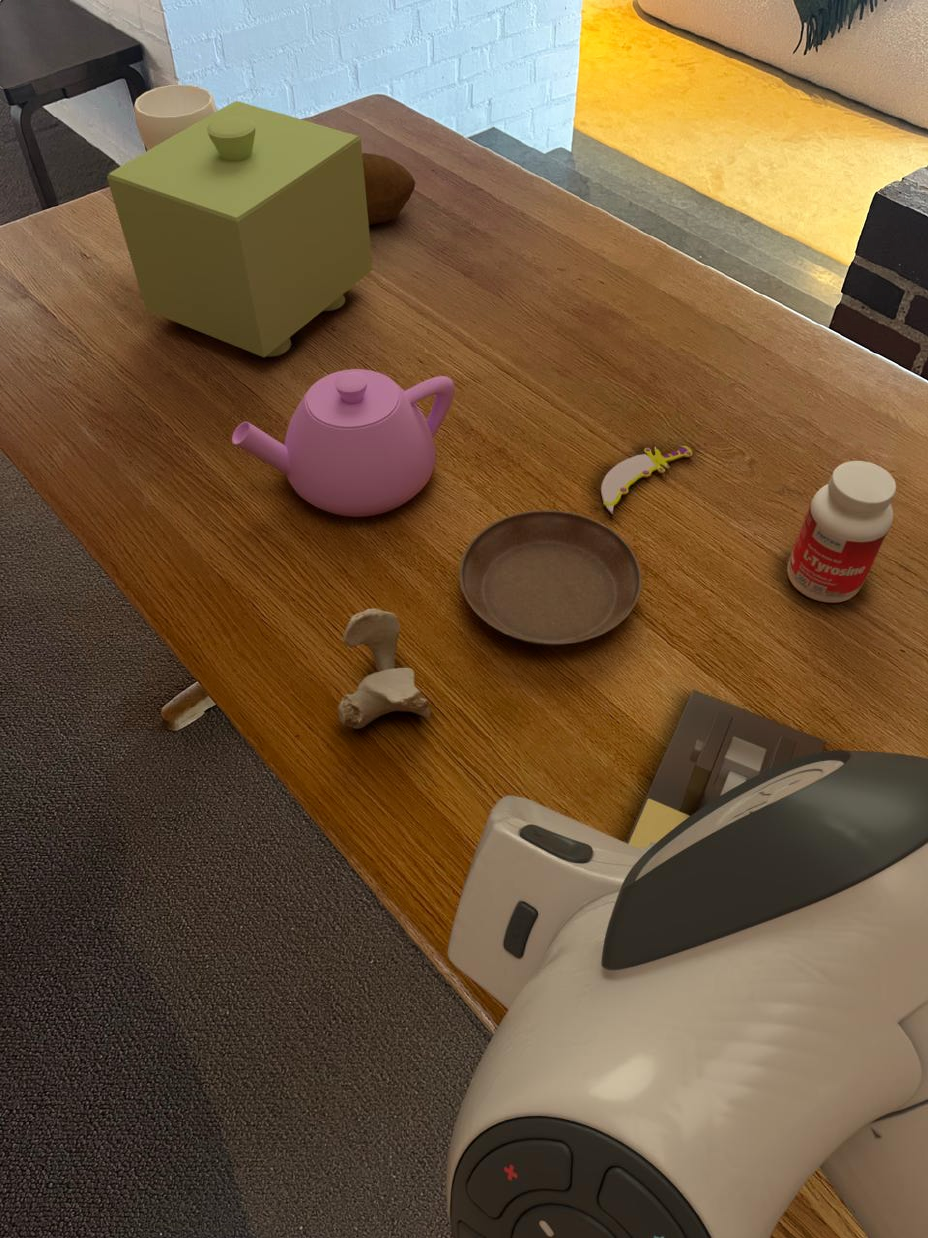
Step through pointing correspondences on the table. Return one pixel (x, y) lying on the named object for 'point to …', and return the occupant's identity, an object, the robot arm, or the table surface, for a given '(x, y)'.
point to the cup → (170, 111)
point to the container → (246, 224)
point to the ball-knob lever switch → (739, 764)
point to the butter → (655, 823)
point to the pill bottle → (842, 532)
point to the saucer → (550, 577)
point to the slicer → (717, 751)
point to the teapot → (356, 442)
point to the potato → (385, 187)
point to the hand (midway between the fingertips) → (699, 878)
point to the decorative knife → (635, 473)
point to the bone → (379, 672)
